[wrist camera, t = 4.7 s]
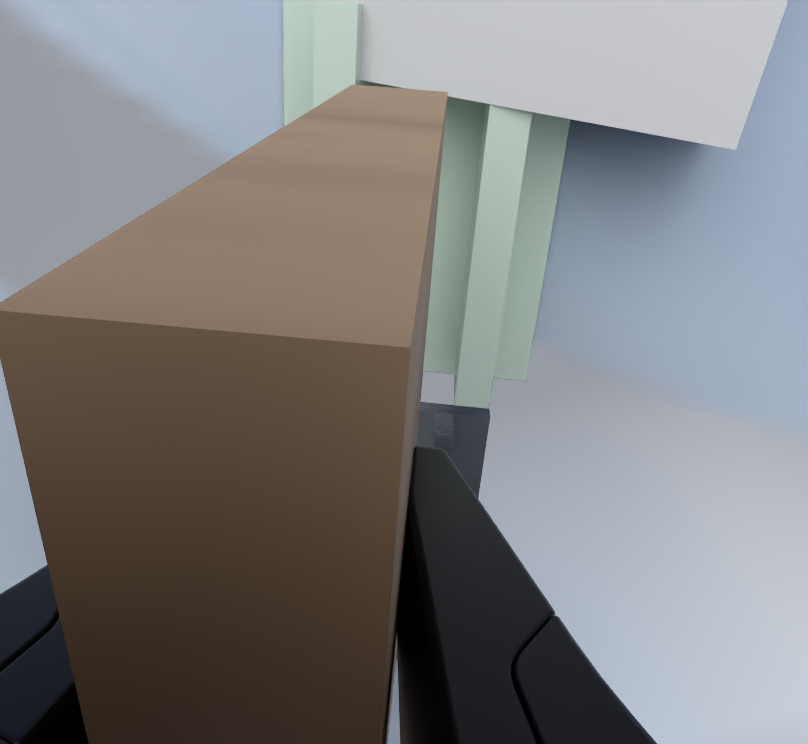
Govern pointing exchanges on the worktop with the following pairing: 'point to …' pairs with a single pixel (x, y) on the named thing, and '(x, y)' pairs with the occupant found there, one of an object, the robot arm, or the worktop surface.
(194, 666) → the walnut sheet
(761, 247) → the worktop surface
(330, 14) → the sage stand
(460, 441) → the offcut rack
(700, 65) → the decorative molding
